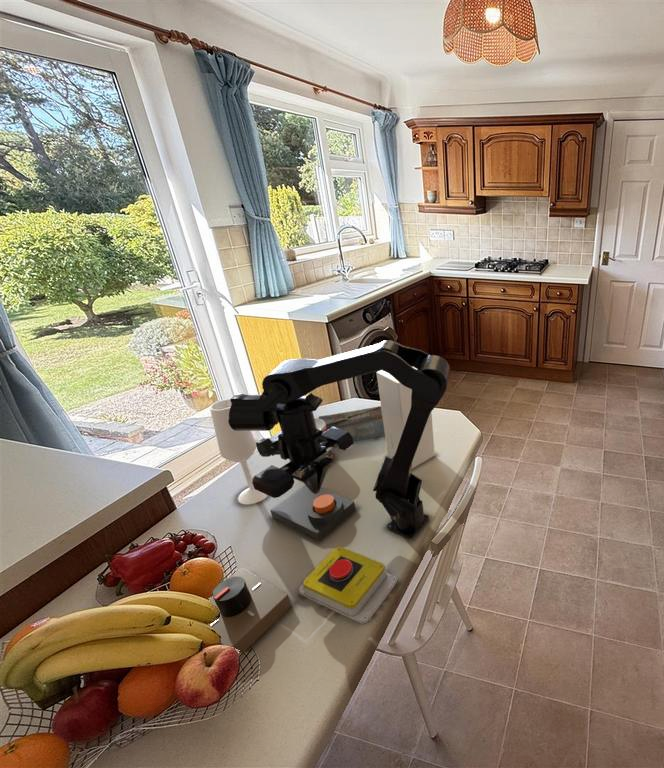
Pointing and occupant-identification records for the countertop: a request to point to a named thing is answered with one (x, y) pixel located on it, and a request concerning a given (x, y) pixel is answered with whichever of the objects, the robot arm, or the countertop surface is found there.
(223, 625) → the dial console
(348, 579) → the emergency button
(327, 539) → the countertop surface
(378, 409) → the beverage carton
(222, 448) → the champagne flute
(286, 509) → the emergency button base
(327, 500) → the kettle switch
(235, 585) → the knob
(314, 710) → the countertop surface
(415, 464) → the tall white carton
